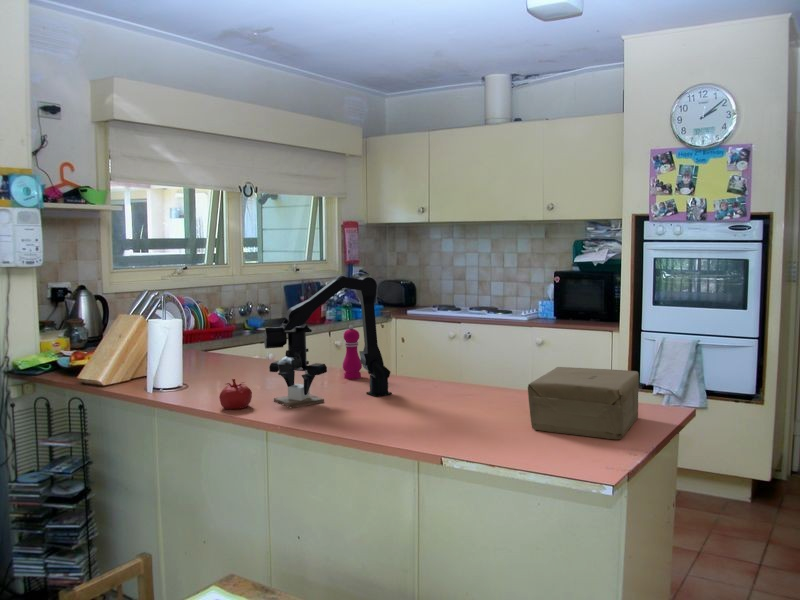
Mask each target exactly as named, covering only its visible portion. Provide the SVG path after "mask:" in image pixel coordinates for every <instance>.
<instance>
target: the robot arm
mask: <svg viewBox="0 0 800 600" xmlns="http://www.w3.org/2000/svg"><path fill="white" fill-rule="evenodd" d="M343 289H348V290H349V289H350V290H356V294H357V297H358V300H359V302H360V305H361V317H362V318H361V319H362V320H361V321H362V329H363V330H362V331H363V341H364V347H363V351H362V350H359V358H360V363H361V364H362V367H363V368H364V369H365V370H366V371H367V373H368V375H369V391H366V395H370V396H373V397H377V398H378V397H383V396H387V395H388V396H389V395H393V392H392V391H389V378H390V376H391V371H390V370H389V368H387V367H386V366H385V365H384V360H383V355H382V353H381V350H380V347H379V345H378V336H377V322H376V309H375V301H376V297H377V294H378V293H377V289H378V284H377V281H376V280H375V279H374V278H373V277H371V276H366V275H365V276H360V277H356V278H355V277H347V276H344V275H337V276H336V277H334V279H333V280H331V281H330V282H329V283H328V284H326V285H325V286H324V287H323V288H321V289H320V290H318V291H317V292H316V293H315V294H314V295H312V296H311V297H309V298H308V299H306V300H304V301H302V302H300V303H297V304H295V305H294V306H292V307H290V308H289V309H288V310H287V311H286V314H285V319H284V320H283V322H282V323H281V324H280V326H275V327H274V326H273V327H271V326H266V327H264V336H263V343H264V344H263V345H264V348H265V350H267V349H268V350H269V349H277V348H278V349H280V348H282V349H283V348H284V346H286V345H287V350H285V355H284V357H282V358H281V359H280V360H277V361H274V362H271V363H270V364H269V369H268V370H269V372H270V373H277V375H278V376H281V377H282V378H283V379H284V381H285V383H286V386H287V388H288V387H289V386H292V385H295V375H296V374H295V372H296V371H298V372H304V374H301V377H302V379H303V385H304V395H307V393H308V391H309V392H310V389H311V386H312V383H313V381H314V380H315V377H316V376H319V375H320V376H321V375H322V374H326V373H328V369H327V365H326V363H322V362H321V363H319V362H318V363H317V362H315V363H312V364H310V361H309V360H307V353H308V352H309V348H307V335H306V334H307V333H312V332H313V330H312V329H311V328H310V327H309V325H307V324H305V323H306V322H308V320H309V319H310V318H311V316H312V315H313V314H314V313H315V311H316V310H317V309H319V308H320V307H321V306H323V305H324V304H325V303H326V302H327V301H329V300H330V299H331V298H333V297H334V296H336V295H337V294H338V293H339V292H340V291H342V290H343Z"/></svg>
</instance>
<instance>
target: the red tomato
mask: <svg viewBox="0 0 800 600" xmlns="http://www.w3.org/2000/svg"><path fill="white" fill-rule="evenodd" d="M231 381H232V383H230V382H227V383H226V386H225V387H224V388H223V389H222V390H221V392H220V393H219V397H218V399H219V401H220V405H221V407H222V408H223V409H225V410H239V409H240V410H241V409H244V408H247V407H248V406H249V405H250V403H251V401H252V397H253V392H252V390H251V388H250V387H248V386H247V385H246V384H244V383H245V382H242V381H241V382H239V383H236V378H232V379H231Z"/></svg>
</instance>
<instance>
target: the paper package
mask: <svg viewBox="0 0 800 600" xmlns="http://www.w3.org/2000/svg"><path fill="white" fill-rule="evenodd" d="M639 376H640V375H639V371H637V370H626V369H625V370H624V369H613V368H611V369H609V368H592V367H591V368H589V367H588V368H587V367H570V366H569V367H568V366H556V367H555V368H553V369H552V370H550V371H549V372H546V373H545V374H543V375H542V376H540V377H537V378H536V379H535V380H533V381H531V382H529V383H528V385H527V395H528V405H529V406H528V407H529V417H530V424H531V428H532V430H535V431H540V432H541V431H542V432H549V433H556V434H567V435H575V436H583V437H592V438H600V439H608V440H621V439H622V438H624V436H625V435H626V434H627V432H628V431H629V429H631V427H632V426H633V425H634V423H635V422H636V421H637V420H638V418H639V382H640V381H639V380H640V379H639V378H640V377H639Z"/></svg>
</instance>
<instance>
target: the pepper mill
mask: <svg viewBox="0 0 800 600" xmlns="http://www.w3.org/2000/svg"><path fill="white" fill-rule="evenodd" d="M343 339H344V341H345V342H344V344H345V345H344V346H345V348H346V349H345V352H346V353H345V357H344V360H343V361H342V369H343V370H344V373H343V376H344V379H346V380H355V379H356V380H358V379H360V378H362V377H361V375H362V373H361V372H360V371H361V370H362V367H363V365H362V364H361V363H360V360H361V357H360V355H359V353H358V346H359V339H360V332H359V331H358V330H357V329H354V325H353V324H350V325H349V326H348V329H346V330H345V331H344V332H343Z"/></svg>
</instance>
